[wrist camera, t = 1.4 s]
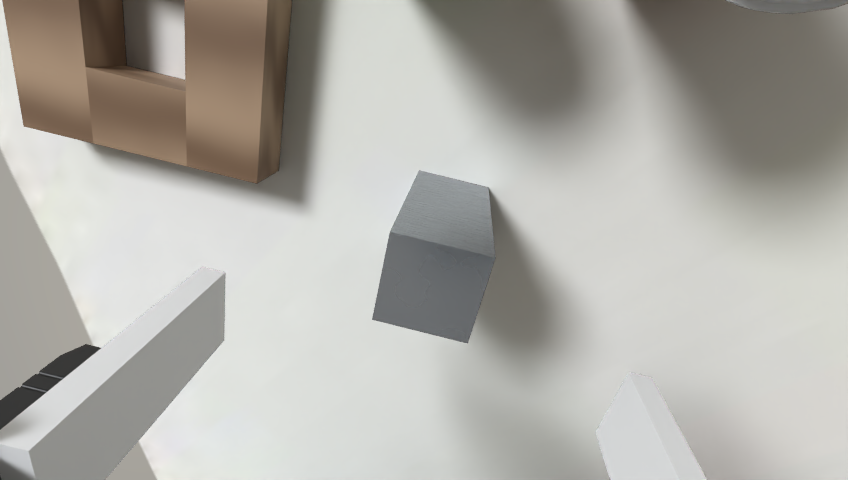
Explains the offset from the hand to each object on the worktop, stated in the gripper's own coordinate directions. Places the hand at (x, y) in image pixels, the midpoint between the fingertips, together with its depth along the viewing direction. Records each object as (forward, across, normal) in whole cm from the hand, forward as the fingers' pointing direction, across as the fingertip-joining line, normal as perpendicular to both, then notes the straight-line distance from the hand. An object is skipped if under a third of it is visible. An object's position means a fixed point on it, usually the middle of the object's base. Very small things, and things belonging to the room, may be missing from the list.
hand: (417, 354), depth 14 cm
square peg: (+15, 0, 0) cm, 15 cm away
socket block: (+15, +18, -6) cm, 24 cm away
